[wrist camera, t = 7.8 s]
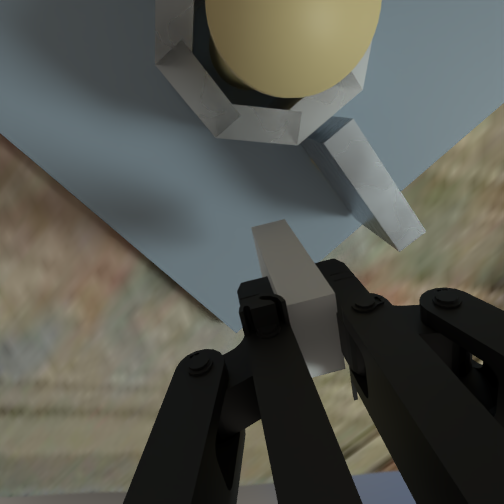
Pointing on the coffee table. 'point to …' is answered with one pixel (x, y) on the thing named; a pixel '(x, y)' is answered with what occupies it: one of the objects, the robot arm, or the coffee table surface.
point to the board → (240, 93)
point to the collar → (291, 126)
